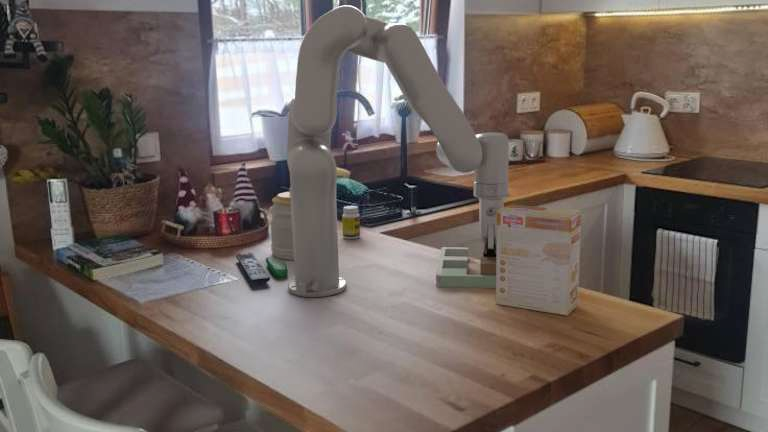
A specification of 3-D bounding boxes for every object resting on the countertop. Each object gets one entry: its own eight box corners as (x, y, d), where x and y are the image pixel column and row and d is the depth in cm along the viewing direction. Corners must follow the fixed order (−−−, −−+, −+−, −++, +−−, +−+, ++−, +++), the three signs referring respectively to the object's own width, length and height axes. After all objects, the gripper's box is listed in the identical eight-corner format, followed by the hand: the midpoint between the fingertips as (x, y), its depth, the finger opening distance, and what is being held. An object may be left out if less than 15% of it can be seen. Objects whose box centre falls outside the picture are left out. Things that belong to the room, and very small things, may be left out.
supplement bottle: (357, 239, 204) (357, 209, 202) (340, 239, 205) (339, 208, 203) (362, 235, 209) (361, 205, 207) (345, 234, 210) (344, 205, 208)
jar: (263, 259, 187) (259, 189, 183) (282, 245, 199) (279, 179, 195) (313, 262, 184) (310, 190, 180) (329, 248, 196) (327, 181, 192)
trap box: (518, 288, 162) (518, 277, 161) (436, 286, 164) (436, 275, 163) (514, 258, 184) (514, 248, 183) (441, 256, 186) (441, 247, 186)
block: (503, 285, 164) (504, 263, 162) (480, 285, 164) (480, 263, 163) (503, 278, 168) (503, 257, 167) (480, 278, 169) (480, 256, 168)
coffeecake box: (578, 305, 151) (582, 209, 146) (567, 316, 145) (571, 217, 140) (507, 294, 158) (509, 202, 154) (494, 304, 152) (495, 209, 148)
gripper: (509, 196, 159) (508, 280, 163) (506, 183, 173) (505, 260, 177) (473, 196, 160) (473, 279, 164) (473, 183, 174) (473, 259, 178)
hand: (490, 269), depth 171 cm, fingers closed
